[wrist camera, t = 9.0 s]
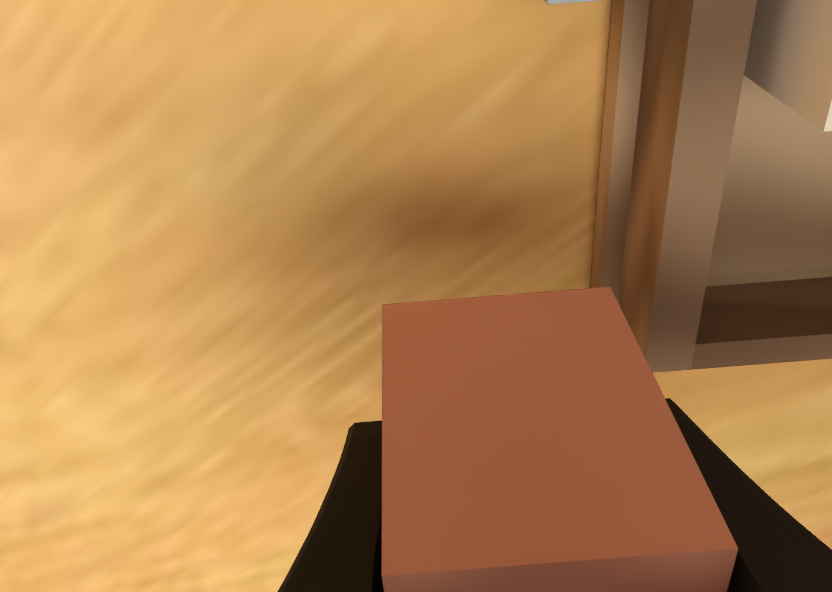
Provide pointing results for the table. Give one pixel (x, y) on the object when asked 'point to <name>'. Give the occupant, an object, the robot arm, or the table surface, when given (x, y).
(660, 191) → the jig
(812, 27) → the cream rectangular block
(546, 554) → the block
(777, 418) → the table surface
